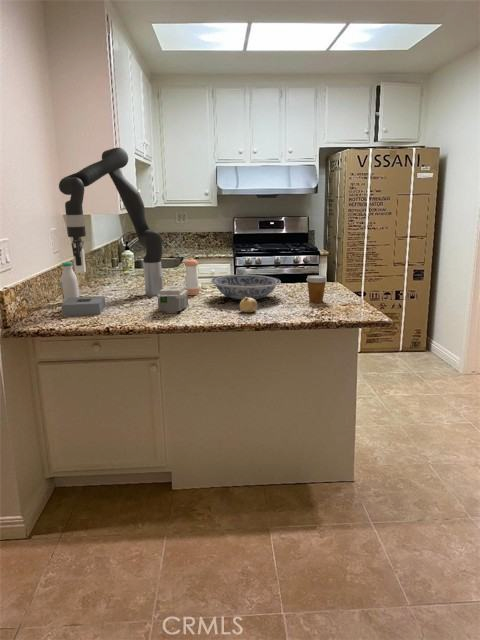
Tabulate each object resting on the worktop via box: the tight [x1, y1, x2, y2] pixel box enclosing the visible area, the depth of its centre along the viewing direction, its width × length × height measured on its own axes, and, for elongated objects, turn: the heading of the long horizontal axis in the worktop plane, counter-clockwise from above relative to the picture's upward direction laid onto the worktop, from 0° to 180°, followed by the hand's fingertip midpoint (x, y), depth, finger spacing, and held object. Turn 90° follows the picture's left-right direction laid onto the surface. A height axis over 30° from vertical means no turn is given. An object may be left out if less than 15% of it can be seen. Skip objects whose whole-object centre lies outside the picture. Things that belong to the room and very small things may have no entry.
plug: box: [72, 243, 87, 274], centre depth 203 cm, size 4×4×12 cm
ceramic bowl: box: [210, 274, 282, 301], centre depth 227 cm, size 34×34×10 cm
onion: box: [239, 297, 259, 313], centre depth 201 cm, size 8×8×7 cm
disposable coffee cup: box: [305, 274, 327, 304], centre depth 218 cm, size 10×10×12 cm
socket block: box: [61, 295, 106, 317], centre depth 208 cm, size 16×16×5 cm
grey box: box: [156, 285, 189, 314], centre depth 209 cm, size 12×28×10 cm, turn 178°
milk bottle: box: [60, 261, 80, 304], centre depth 224 cm, size 8×8×20 cm
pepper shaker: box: [183, 257, 200, 296], centre depth 239 cm, size 7×7×19 cm
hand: (80, 264), depth 203 cm, fingers closed on plug, 4 cm apart
